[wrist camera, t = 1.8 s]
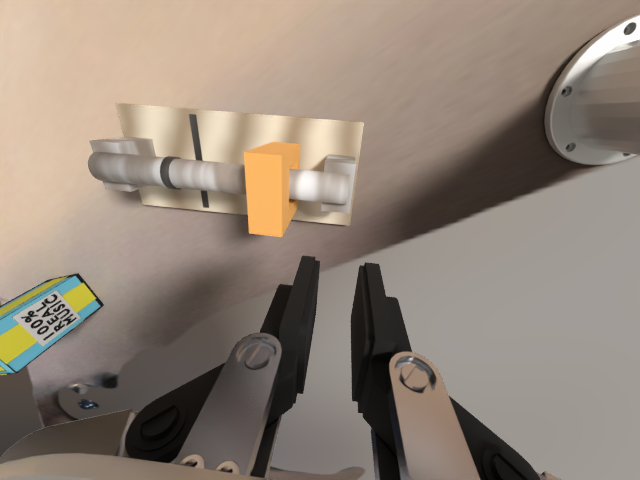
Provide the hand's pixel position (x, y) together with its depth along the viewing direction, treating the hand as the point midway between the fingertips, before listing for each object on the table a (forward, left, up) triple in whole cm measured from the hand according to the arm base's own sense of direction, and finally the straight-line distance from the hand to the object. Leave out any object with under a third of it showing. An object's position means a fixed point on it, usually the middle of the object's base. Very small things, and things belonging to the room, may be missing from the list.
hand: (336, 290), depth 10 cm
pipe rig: (+13, 0, -22) cm, 25 cm away
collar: (+7, 0, -20) cm, 21 cm away
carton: (+45, +25, -22) cm, 56 cm away
